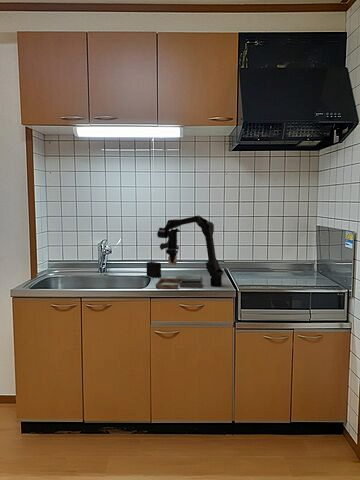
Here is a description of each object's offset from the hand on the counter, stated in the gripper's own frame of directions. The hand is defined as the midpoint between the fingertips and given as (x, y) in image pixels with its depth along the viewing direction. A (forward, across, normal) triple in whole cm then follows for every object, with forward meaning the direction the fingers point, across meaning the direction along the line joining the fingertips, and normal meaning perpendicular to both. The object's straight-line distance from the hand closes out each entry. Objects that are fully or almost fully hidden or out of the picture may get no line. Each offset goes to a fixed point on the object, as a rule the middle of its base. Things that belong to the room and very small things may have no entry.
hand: (172, 262), depth 266 cm
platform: (+12, -2, +10) cm, 16 cm away
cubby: (+12, +15, 0) cm, 19 cm away
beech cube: (+1, 0, 0) cm, 1 cm away
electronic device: (+12, -10, -14) cm, 22 cm away
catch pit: (+12, +15, +14) cm, 24 cm away
